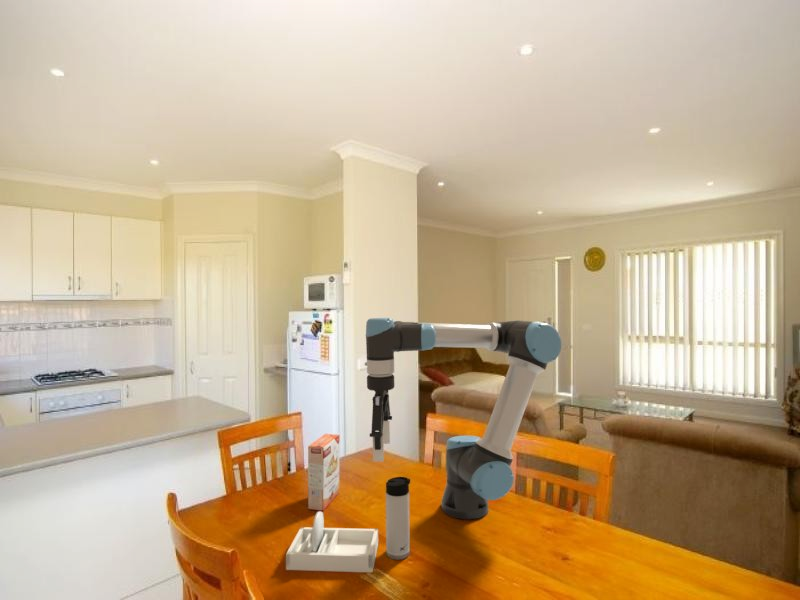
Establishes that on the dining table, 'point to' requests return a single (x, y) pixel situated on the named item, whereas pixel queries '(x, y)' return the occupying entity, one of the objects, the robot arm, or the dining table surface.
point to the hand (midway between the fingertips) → (382, 451)
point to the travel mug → (397, 518)
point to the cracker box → (323, 471)
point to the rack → (332, 548)
